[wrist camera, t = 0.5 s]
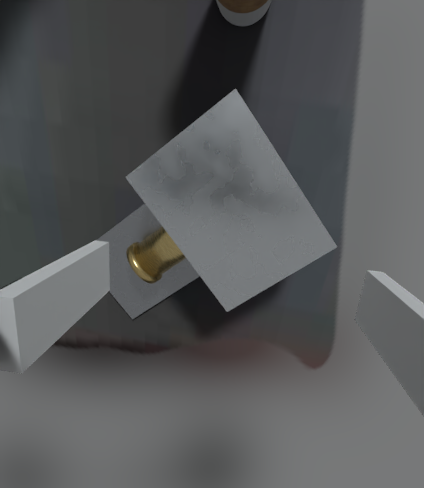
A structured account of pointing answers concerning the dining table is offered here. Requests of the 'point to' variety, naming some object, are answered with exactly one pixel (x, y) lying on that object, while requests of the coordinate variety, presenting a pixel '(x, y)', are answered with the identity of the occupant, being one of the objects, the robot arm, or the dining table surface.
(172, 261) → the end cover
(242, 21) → the coffee cup
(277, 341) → the dining table surface
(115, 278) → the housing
